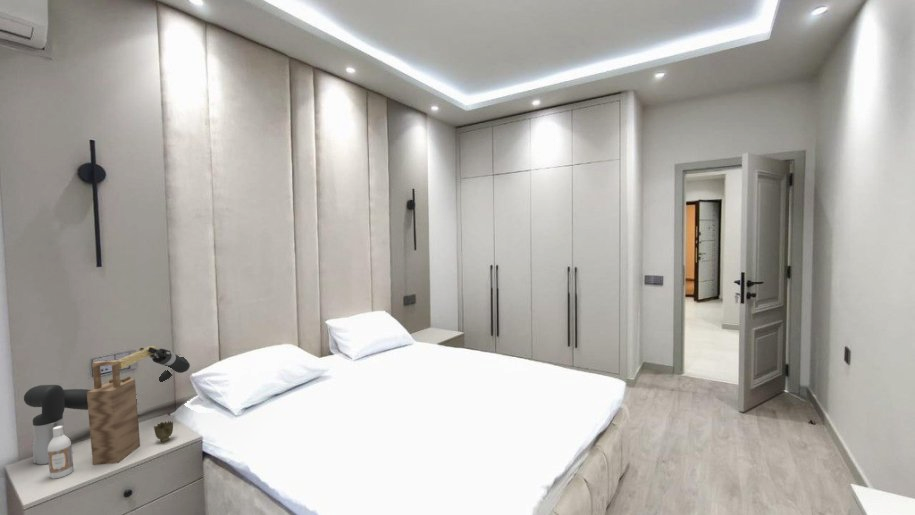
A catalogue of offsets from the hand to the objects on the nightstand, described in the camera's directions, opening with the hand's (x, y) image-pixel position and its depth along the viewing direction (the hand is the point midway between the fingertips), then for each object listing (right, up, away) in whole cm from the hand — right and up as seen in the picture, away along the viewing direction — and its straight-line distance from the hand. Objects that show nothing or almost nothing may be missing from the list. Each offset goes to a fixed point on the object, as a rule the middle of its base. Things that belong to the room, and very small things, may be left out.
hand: (145, 349), depth 198 cm
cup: (+17, -42, -9) cm, 46 cm away
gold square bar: (+1, -4, -6) cm, 7 cm away
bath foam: (-7, -44, -34) cm, 56 cm away
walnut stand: (+4, -42, -21) cm, 48 cm away
